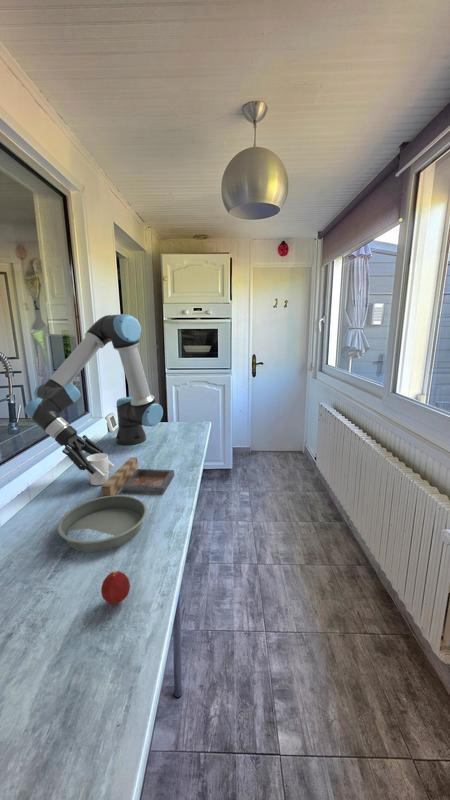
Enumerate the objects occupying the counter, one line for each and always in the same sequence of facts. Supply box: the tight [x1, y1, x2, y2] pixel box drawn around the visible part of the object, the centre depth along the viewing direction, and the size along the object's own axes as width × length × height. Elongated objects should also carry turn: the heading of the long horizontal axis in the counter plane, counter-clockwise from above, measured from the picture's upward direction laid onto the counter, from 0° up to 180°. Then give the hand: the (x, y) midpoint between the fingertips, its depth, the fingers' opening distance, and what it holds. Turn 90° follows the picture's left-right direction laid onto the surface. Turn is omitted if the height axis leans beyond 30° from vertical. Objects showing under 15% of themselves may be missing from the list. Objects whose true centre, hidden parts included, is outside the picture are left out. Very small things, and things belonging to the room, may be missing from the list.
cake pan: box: [57, 494, 148, 553], centre depth 99 cm, size 25×25×4 cm
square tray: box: [122, 468, 175, 495], centre depth 127 cm, size 15×15×2 cm
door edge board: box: [101, 456, 139, 497], centre depth 128 cm, size 26×3×5 cm, turn 174°
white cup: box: [86, 452, 110, 486], centre depth 128 cm, size 8×8×10 cm
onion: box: [100, 570, 131, 605], centre depth 72 cm, size 6×6×8 cm
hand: (107, 472), depth 128 cm, fingers closed on white cup, 8 cm apart
